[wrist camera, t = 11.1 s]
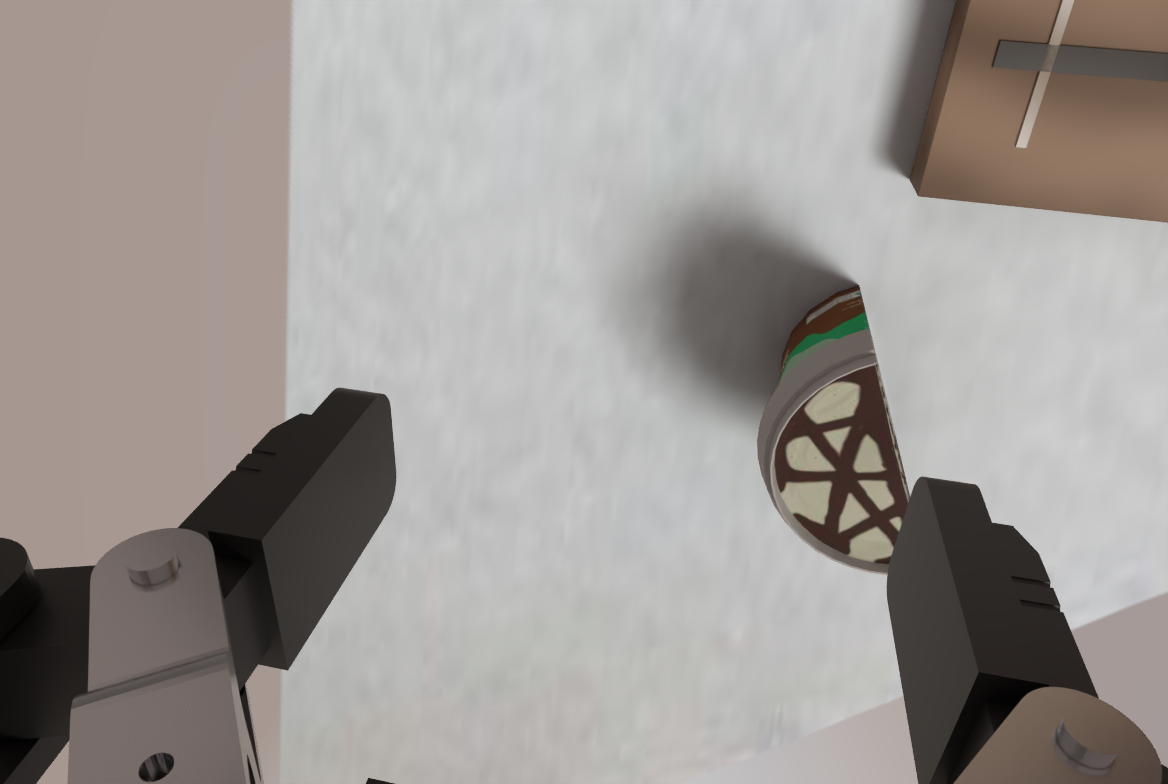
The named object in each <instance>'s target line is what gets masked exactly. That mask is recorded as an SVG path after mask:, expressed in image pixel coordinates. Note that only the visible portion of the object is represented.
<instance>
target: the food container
mask: <svg viewBox="0 0 1168 784" xmlns="http://www.w3.org/2000/svg"><path fill="white" fill-rule="evenodd" d="M757 447H758V460H759V465H760V469H761V473H762V477H763V479H764V482H765V485H766V487H767V490H768V492H769V495H770V497H771V499H772V501H773V504H774V506H775V508H776V509H777V511H778V512H779V514H780V515H781V517H782V518H783V520H784V521H785V522H786V523H787V524H788V525H789V526H790V528H791V529H792V530H793V531H794V532H795V533H796V534H797V535H798V536H799V537H800V538H801V539H802V540H803V541H804V542H805V543H807V544H808V545H809V546H810V547H812V548H813V549H814V550H816V551H817V552H819V553H821V554H822V555H824V556H826V557H828V558H830V559H831V560H833V561H836V562H838V563H841V564H843V565H846V566H848V567H851V568H855V569H858V570H862V571H866V572H870V573H877V574H884V575H888V568H889V563H890V559H891V555H892V552H893V549H894V546H895V543H896V540H897V537H898V534H899V531H900V527H901V524H902V521H903V518H904V515H905V512H906V509H907V506H908V503H909V500H910V494H909V490H908V486H907V482H906V477H905V473H904V469H903V465H902V461H901V457H900V452H899V448H898V444H897V440H896V436H895V431H894V427H893V423H892V419H891V415H890V411H889V407H888V403H887V398H886V394H885V390H884V386H883V382H882V378H881V374H880V369H879V365H878V361H877V357H876V353H875V349H874V345H873V340H872V336H871V332H870V328H869V324H868V320H867V316H866V311H865V307H864V303H863V299H862V295H861V291H860V287H859V286H856V287H853V288H850V289H847V290H844V291H841V292H838V293H836V294H834V295H833V296H831V297H829V298H828V299H826V300H825V301H823V302H822V303H820V304H819V305H817V306H815V307H814V308H812V309H811V310H810V311H809V312H808V313H807V314H806V315H805V317H804V318H803V319H802V320H801V321H800V323H799V324H798V325H797V326H796V327H795V328H794V330H793V331H792V333H791V335H790V338H789V340H788V343H787V345H786V348H785V350H784V353H783V357H782V364H781V372H780V380H779V386H778V387H777V388H776V390H775V391H774V393H773V395H772V396H771V398H770V400H769V402H768V403H767V405H766V408H765V411H764V413H763V416H762V419H761V422H760V427H759V433H758V439H757Z"/></svg>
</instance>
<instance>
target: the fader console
mask: <svg viewBox="0 0 1168 784" xmlns="http://www.w3.org/2000/svg"><path fill="white" fill-rule="evenodd" d="M910 181H911V183H912V185H913V187H914V189H915V191H916V193H917V195H918V196H921V197H930V198H940V199H949V200H959V201H968V202H978V203H987V204H997V205H1006V206H1016V207H1025V208H1035V209H1044V210H1054V211H1064V212H1073V213H1083V214H1092V215H1102V216H1111V217H1121V218H1130V219H1140V220H1149V221H1159V222H1168V0H957V1H956V5H955V9H954V13H953V17H952V20H951V24H950V28H949V32H948V36H947V40H946V44H945V47H944V51H943V55H942V59H941V63H940V67H939V71H938V74H937V78H936V82H935V86H934V90H933V94H932V97H931V101H930V105H929V109H928V113H927V117H926V121H925V124H924V128H923V132H922V136H921V140H920V144H919V148H918V151H917V155H916V159H915V163H914V167H913V171H912V175H911V178H910Z"/></svg>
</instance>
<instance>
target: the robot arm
mask: <svg viewBox="0 0 1168 784" xmlns="http://www.w3.org/2000/svg"><path fill="white" fill-rule="evenodd" d="M395 486H396V465H395V454H394V442H393V430H392V418H391V408H390V402H389V400H388V398H387V396H386V395H384V394H379V393H372V392H366V391H359V390H352V389H346V388H337V389H335V390H334V391H333V392H332V393H331V394H330V395H329V396H328V397H327V398H326V399H325V400H324V401H323V403H322V404H321V405H320V406H319V407H318V408H317V409H316V410H315V411H314V413H313V414H312V415H308V414H302V413H300V414H299V415H297V416H295V417H293V418H291V419H289V420H288V421H286V422H284V423H282V424H280V425H278V426H277V427H275V428H273V429H271V430H270V431H269V432H268V433H267V434H266V436H265V437H264V438H263V439H262V440H261V441H260V442H259V443H258V444H257V445H256V446H255V447H254V448H253V449H252V454H248V455H246V457H245V458H244V459H243V460H242V461H241V462H240V463H239V464H238V465H237V466H236V470H235V471H231V472H230V473H229V474H228V475H227V477H226V478H225V479H224V480H223V481H222V482H221V483H220V484H219V485H218V486H217V487H216V488H215V489H214V490H213V491H212V492H211V494H209V495H208V496H207V498H206V499H205V500H204V501H203V502H202V503H201V504H200V505H199V506H198V507H197V508H196V509H195V510H194V511H193V512H192V513H191V514H190V515H189V517H188V518H187V519H186V520H185V521H184V522H183V523H182V524H181V525H180V526H179V527H178V528H167V529H159V530H153V531H149V532H146V533H142V534H139V535H136V536H134V537H131V538H129V539H127V540H125V541H123V542H121V543H120V544H118V545H117V546H115V547H113V548H112V549H111V550H110V551H108V552H107V553H106V554H105V555H104V556H103V557H102V558H101V559H100V560H99V561H98V563H97V564H96V565H95V566H82V567H66V568H50V569H35V570H33V567H32V565H31V562H30V560H29V557H28V555H27V552H26V550H25V549H24V547H23V546H22V545H20V544H19V543H17V542H15V541H13V540H10V539H5V538H0V784H36V783H37V781H38V780H39V779H40V778H41V776H42V775H43V774H44V772H45V771H46V770H47V769H48V767H49V766H50V765H51V763H52V762H53V761H54V759H55V758H56V757H57V755H58V754H59V753H60V752H61V750H62V749H63V748H64V746H65V745H66V744H67V742H68V741H69V763H68V764H69V765H68V784H264V781H263V775H262V770H261V764H260V758H259V753H258V746H257V741H256V735H255V730H254V723H253V718H252V712H251V706H250V700H249V694H248V690H247V686H246V682H247V680H248V678H249V677H250V676H251V674H252V673H253V671H254V669H255V668H256V667H257V665H258V664H259V665H264V666H269V667H274V668H279V669H284V670H288V669H289V668H290V666H291V665H292V663H293V661H294V660H295V658H296V657H297V655H298V654H299V652H300V650H301V649H302V647H303V646H304V644H305V642H306V641H307V639H308V638H309V636H310V635H311V633H312V631H313V630H314V628H315V627H316V625H317V623H318V622H319V620H320V619H321V617H322V615H323V614H324V612H325V611H326V609H327V608H328V606H329V604H330V603H331V601H332V600H333V598H334V596H335V595H336V593H337V592H338V590H339V589H340V587H341V585H342V584H343V582H344V581H345V579H346V577H347V576H348V574H349V573H350V571H351V569H352V568H353V566H354V565H355V563H356V562H357V560H358V558H359V557H360V555H361V554H362V552H363V550H364V549H365V547H366V546H367V544H368V543H369V541H370V539H371V538H372V536H373V535H374V533H375V531H376V530H377V528H378V527H379V525H380V523H381V522H382V520H383V519H384V517H385V516H386V514H387V512H388V510H389V508H390V506H391V503H392V500H393V496H394V492H395ZM1050 583H1051V582H1050V580H1049V577H1048V575H1047V572H1046V570H1045V567H1044V565H1043V563H1042V560H1041V558H1040V555H1039V553H1038V552H1037V551H1036V550H1035V549H1034V548H1033V547H1032V546H1031V545H1030V544H1029V543H1028V542H1027V541H1026V540H1025V539H1024V537H1023V536H1022V535H1021V534H1020V533H1019V532H1018V531H1017V530H1016V529H1015V528H1014V527H1013V526H1010V525H1004V524H997V523H992V522H991V519H990V516H989V514H988V511H987V508H986V505H985V502H984V500H983V497H982V494H981V491H980V489H979V488H978V486H977V485H975V484H968V483H962V482H955V481H948V480H942V479H935V478H928V477H920V478H919V479H918V480H917V482H916V483H915V485H914V488H913V491H912V494H911V497H910V500H909V503H908V506H907V509H906V512H905V515H904V518H903V521H902V524H901V527H900V531H899V534H898V537H897V540H896V543H895V546H894V549H893V552H892V555H891V559H890V563H889V568H888V576H887V600H888V606H889V612H890V618H891V624H892V630H893V636H894V642H895V648H896V654H897V660H898V666H899V671H900V677H901V683H902V689H903V695H904V701H905V707H906V713H907V719H908V725H909V730H910V736H911V742H912V748H913V754H914V760H915V766H916V772H917V778H918V784H1168V768H1167V767H1165V766H1163V765H1162V764H1161V762H1160V759H1159V757H1158V755H1157V752H1156V750H1155V748H1154V747H1153V745H1152V743H1151V742H1150V740H1149V739H1148V738H1147V737H1146V735H1145V734H1144V733H1143V732H1142V731H1141V729H1140V728H1139V727H1138V726H1137V725H1136V724H1135V723H1134V722H1132V721H1131V720H1130V719H1129V718H1128V717H1126V716H1125V715H1124V714H1123V713H1121V712H1120V711H1118V710H1117V709H1115V708H1114V707H1113V706H1111V705H1109V704H1107V703H1106V702H1104V701H1102V700H1100V699H1099V698H1098V695H1097V693H1096V690H1095V688H1094V686H1093V683H1092V681H1091V678H1090V676H1089V674H1088V671H1087V669H1086V666H1085V664H1084V662H1083V659H1082V657H1081V654H1080V652H1079V649H1078V647H1077V645H1076V642H1075V640H1074V637H1073V635H1072V633H1071V630H1070V628H1069V625H1068V623H1067V620H1066V618H1065V616H1064V613H1063V612H1060V604H1059V601H1058V599H1057V596H1056V594H1055V592H1054V589H1053V588H1050ZM366 784H394V783H389V782H385V781H380V780H375V779H371V778H368V780H367V782H366Z"/></svg>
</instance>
